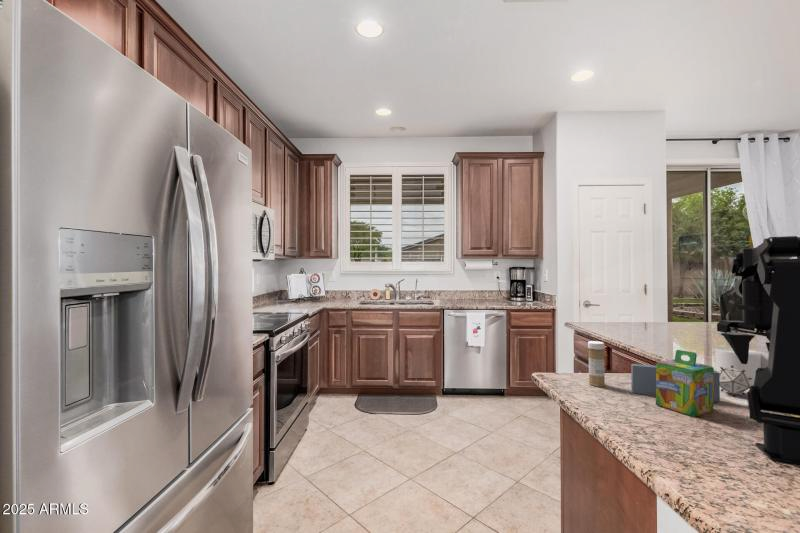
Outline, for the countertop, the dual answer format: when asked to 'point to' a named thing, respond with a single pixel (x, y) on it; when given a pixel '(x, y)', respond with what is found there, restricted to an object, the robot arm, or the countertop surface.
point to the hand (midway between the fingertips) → (760, 368)
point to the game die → (733, 381)
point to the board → (646, 380)
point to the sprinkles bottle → (596, 363)
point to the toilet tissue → (729, 358)
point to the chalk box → (685, 385)
